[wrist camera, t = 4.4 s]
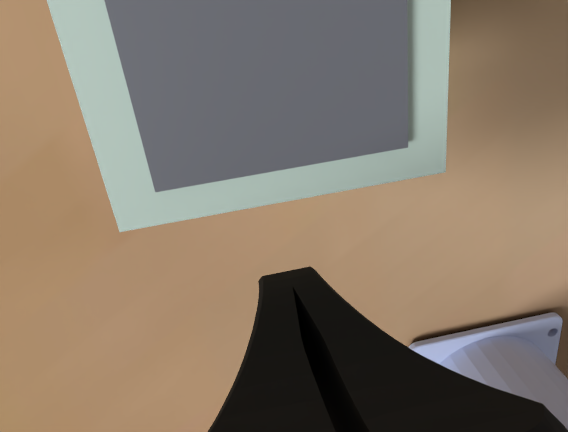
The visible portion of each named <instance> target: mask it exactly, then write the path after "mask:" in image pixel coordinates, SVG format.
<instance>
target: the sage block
mask: <svg viewBox="0 0 568 432" xmlns="http://www.w3.org/2000/svg"><path fill="white" fill-rule="evenodd" d="M47 3H48V6H49V9H50V12H51V15H52V18H53V22H54V25H55V28H56V31H57V34H58V38H59V41H60V44H61V47H62V50H63V53H64V57H65V60H66V63H67V66H68V69H69V73H70V76H71V79H72V82H73V85H74V88H75V92H76V95H77V98H78V101H79V104H80V108H81V111H82V114H83V117H84V120H85V123H86V127H87V130H88V133H89V136H90V139H91V143H92V146H93V149H94V152H95V155H96V158H97V162H98V165H99V168H100V171H101V174H102V177H103V181H104V184H105V187H106V190H107V193H108V197H109V200H110V203H111V206H112V209H113V212H114V216H115V219H116V222H117V225H118V228H119V232H123V231H128V230H134V229H139V228H145V227H150V226H155V225H161V224H166V223H172V222H177V221H183V220H188V219H193V218H199V217H204V216H210V215H215V214H221V213H226V212H232V211H237V210H242V209H248V208H253V207H259V206H264V205H270V204H275V203H280V202H286V201H291V200H297V199H302V198H308V197H313V196H319V195H324V194H329V193H335V192H340V191H346V190H351V189H357V188H362V187H368V186H373V185H378V184H384V183H389V182H395V181H400V180H406V179H411V178H416V177H422V176H427V175H433V174H438V173H444V172H446V141H447V109H448V76H449V44H450V12H451V0H47Z"/></svg>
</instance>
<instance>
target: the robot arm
mask: <svg viewBox="0 0 568 432" xmlns="http://www.w3.org/2000/svg"><path fill="white" fill-rule="evenodd" d="M258 282H259V300H258V307H257V312H256V317H255V321H254V326H253V330H252V334H251V337H250V340H249V344H248V347H247V350H246V353H245V356H244V359H243V362H242V364H241V367H240V370H239V372H238V374H237V377H236V379H235V381H234V384H233V386H232V388H231V390H230V392H229V394H228V396H227V398H226V400H225V402H224V404H223V406H222V408H221V410H220V412H219V414H218V416H217V417H216V419H215V421H214V423H213V424H212V426H211V427H210V429H209V430H208V432H568V379H567V378H566V377H565V376H564V374H563V373H562V372H561V371H560V370H559V369H558V368H557V367H556V366H555V363H556V357H557V352H558V346H559V340H560V334H561V329H562V323H563V321H562V318H561V317H560V316H559V315H558V314H557V313H554V312H553V313H547V314H542V315H537V316H533V317H528V318H524V319H519V320H514V321H510V322H505V323H500V324H496V325H491V326H487V327H482V328H477V329H473V330H468V331H464V332H459V333H454V334H450V335H445V336H440V337H436V338H431V339H427V340H422V341H417V342H414V343H412V344H411V345H410V346H409V347H407V346H405V345H403V344H402V343H400V342H399V341H397V340H395V339H394V338H393V337H391V336H390V335H388V334H387V333H385V332H384V331H382V330H381V329H380V328H378V327H377V326H376V325H374V324H373V323H372V322H370V321H369V320H368V319H367V318H365V317H364V316H363V315H362V314H360V313H359V312H358V311H357V310H356V309H355V308H353V307H352V306H351V305H350V304H349V303H348V302H346V301H345V300H344V299H343V298H342V297H341V296H340V295H339V294H338V293H337V292H336V291H335V290H334V289H333V288H331V287H330V286H329V285H328V284H327V282H326V281H325V280H324V279H323V278H322V277H321V276H320V275H319V274H318V273H317V272H316V271H315V270H314V269H313V268H312V267H306V268H301V269H296V270H291V271H286V272H281V273H276V274H271V275H266V276H262V277H261V278H260V280H259V281H258Z"/></svg>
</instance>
